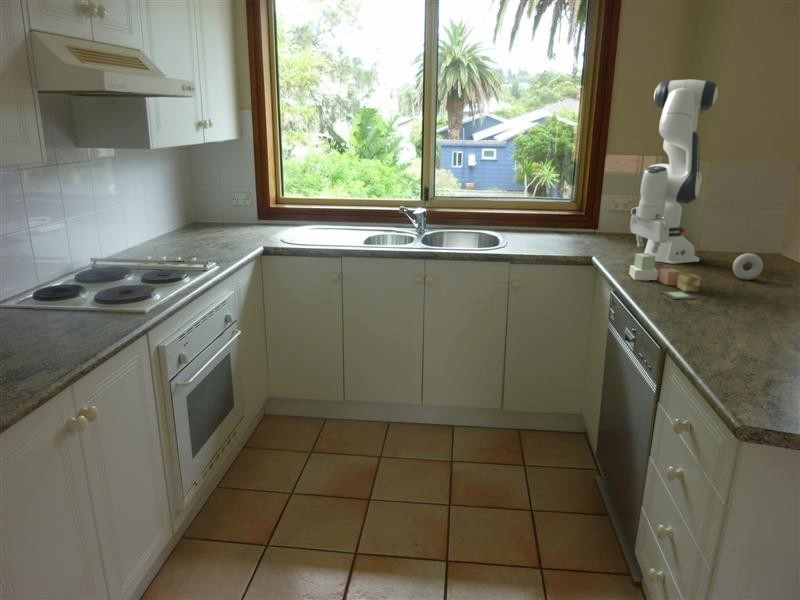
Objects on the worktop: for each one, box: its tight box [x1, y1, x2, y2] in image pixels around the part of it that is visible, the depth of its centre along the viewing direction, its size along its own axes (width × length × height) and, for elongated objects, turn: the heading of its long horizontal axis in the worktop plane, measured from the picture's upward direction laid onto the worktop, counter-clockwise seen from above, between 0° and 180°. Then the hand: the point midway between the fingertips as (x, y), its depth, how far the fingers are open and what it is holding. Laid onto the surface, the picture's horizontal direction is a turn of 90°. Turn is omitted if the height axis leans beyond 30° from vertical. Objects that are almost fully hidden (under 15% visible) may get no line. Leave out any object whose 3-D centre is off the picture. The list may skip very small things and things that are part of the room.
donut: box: [732, 252, 764, 281], centre depth 222 cm, size 10×3×10 cm, turn 77°
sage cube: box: [633, 252, 656, 270], centre depth 223 cm, size 5×5×5 cm
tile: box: [661, 290, 697, 300], centre depth 202 cm, size 8×8×1 cm
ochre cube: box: [676, 273, 702, 292], centre depth 209 cm, size 5×5×5 cm
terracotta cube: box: [658, 268, 682, 286], centre depth 216 cm, size 5×5×5 cm
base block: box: [628, 264, 659, 281], centre depth 224 cm, size 8×8×4 cm
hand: (646, 249), depth 222 cm, fingers open, 8 cm apart
